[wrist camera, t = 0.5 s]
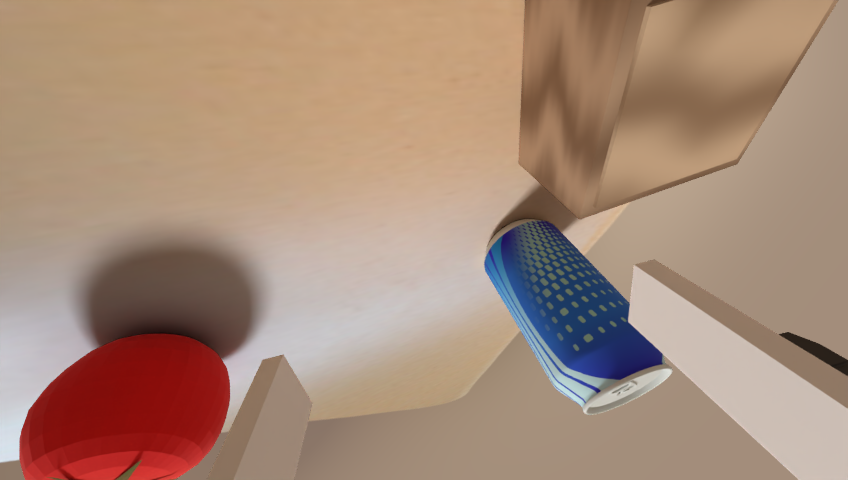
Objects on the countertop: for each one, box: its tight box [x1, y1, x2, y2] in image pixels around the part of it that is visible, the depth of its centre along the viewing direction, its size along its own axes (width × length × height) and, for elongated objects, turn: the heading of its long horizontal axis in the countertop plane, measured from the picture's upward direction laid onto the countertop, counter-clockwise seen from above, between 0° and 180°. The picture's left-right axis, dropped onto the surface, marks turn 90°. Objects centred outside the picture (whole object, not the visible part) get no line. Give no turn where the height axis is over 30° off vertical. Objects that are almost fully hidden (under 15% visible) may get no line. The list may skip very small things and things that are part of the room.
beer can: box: [484, 219, 673, 415], centre depth 27 cm, size 8×8×16 cm
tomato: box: [20, 334, 230, 480], centre depth 25 cm, size 12×13×11 cm
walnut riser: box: [519, 0, 838, 219], centre depth 19 cm, size 12×12×8 cm
